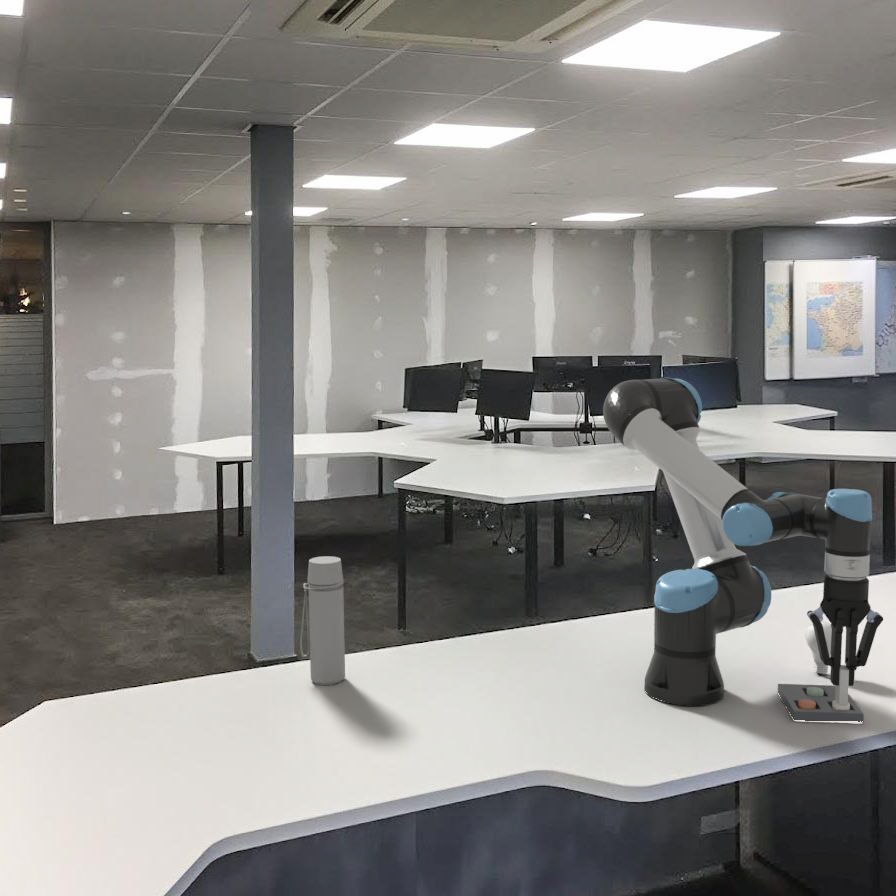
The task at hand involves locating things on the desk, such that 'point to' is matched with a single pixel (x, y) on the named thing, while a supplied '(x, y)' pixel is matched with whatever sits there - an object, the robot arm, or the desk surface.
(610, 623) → the desk surface
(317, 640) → the water bottle
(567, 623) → the desk surface
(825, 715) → the panel
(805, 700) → the rust button
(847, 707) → the cream button
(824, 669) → the lightbulb
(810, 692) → the sage button
